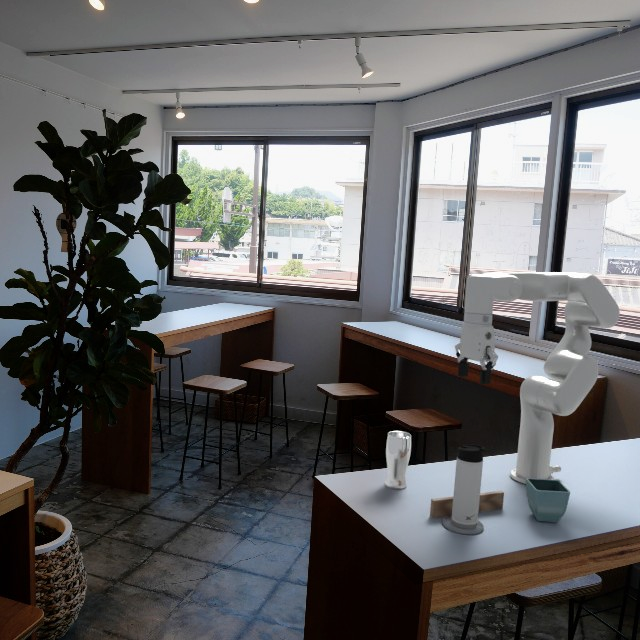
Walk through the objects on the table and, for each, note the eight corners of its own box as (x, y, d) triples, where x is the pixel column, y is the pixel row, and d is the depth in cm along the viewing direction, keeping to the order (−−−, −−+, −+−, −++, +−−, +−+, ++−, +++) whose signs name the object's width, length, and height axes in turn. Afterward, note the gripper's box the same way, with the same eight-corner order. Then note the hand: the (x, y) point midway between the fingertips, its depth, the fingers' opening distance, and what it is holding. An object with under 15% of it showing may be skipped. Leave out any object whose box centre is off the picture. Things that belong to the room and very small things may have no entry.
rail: (499, 506, 168) (501, 490, 167) (502, 508, 167) (504, 492, 166) (429, 516, 159) (431, 499, 159) (432, 518, 158) (433, 500, 158)
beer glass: (379, 486, 178) (383, 434, 176) (388, 478, 184) (392, 429, 182) (403, 491, 175) (407, 439, 173) (411, 484, 181) (415, 433, 179)
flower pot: (522, 509, 167) (525, 477, 166) (555, 512, 167) (559, 479, 166) (532, 524, 158) (535, 490, 157) (567, 526, 158) (571, 492, 157)
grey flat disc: (467, 515, 161) (467, 513, 161) (492, 532, 152) (492, 530, 152) (434, 519, 157) (434, 517, 157) (457, 537, 148) (458, 535, 148)
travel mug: (474, 532, 150) (481, 451, 148) (447, 524, 154) (454, 445, 151) (481, 523, 156) (488, 445, 153) (455, 516, 159) (462, 439, 157)
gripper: (510, 323, 167) (505, 386, 169) (469, 315, 183) (465, 373, 185) (487, 323, 164) (483, 387, 166) (448, 315, 179) (444, 374, 181)
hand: (473, 379), depth 175 cm, fingers open, 9 cm apart
